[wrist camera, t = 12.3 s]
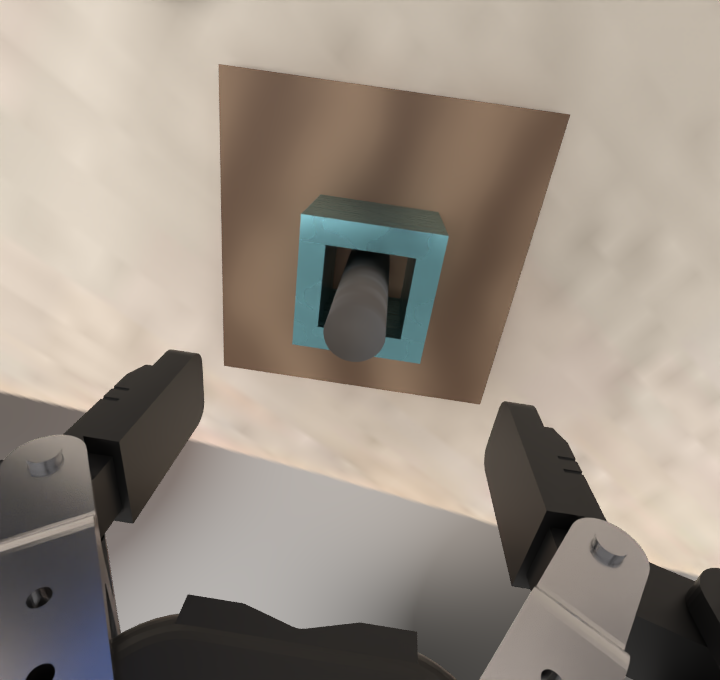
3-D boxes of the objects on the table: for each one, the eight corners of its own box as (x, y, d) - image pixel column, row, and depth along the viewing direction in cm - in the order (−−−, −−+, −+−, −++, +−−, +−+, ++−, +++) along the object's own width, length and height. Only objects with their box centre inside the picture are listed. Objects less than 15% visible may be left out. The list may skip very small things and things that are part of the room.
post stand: (559, 114, 21) (688, 113, 12) (476, 390, 28) (514, 525, 19) (230, 67, 21) (97, 28, 12) (232, 353, 28) (151, 469, 19)
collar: (438, 211, 22) (448, 235, 18) (416, 319, 25) (419, 363, 20) (320, 194, 22) (301, 213, 18) (311, 303, 25) (292, 344, 20)
